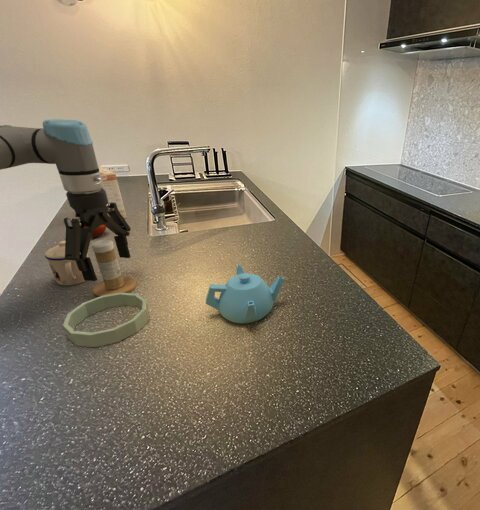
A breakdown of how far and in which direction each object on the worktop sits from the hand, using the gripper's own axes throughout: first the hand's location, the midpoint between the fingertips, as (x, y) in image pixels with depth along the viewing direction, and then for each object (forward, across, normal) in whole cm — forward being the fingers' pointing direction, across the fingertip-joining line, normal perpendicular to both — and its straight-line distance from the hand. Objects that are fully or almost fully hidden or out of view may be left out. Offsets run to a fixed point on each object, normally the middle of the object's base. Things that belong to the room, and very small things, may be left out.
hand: (109, 268), depth 83 cm
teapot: (+7, -4, -39) cm, 40 cm away
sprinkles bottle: (+6, 0, 0) cm, 6 cm away
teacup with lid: (+7, +2, +13) cm, 15 cm away
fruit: (+7, +31, +30) cm, 44 cm away
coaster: (+7, 0, 0) cm, 7 cm away
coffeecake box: (+7, +51, +39) cm, 64 cm away
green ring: (+7, -14, -9) cm, 18 cm away
